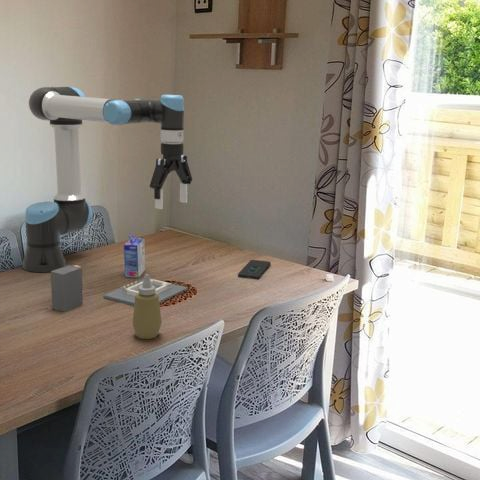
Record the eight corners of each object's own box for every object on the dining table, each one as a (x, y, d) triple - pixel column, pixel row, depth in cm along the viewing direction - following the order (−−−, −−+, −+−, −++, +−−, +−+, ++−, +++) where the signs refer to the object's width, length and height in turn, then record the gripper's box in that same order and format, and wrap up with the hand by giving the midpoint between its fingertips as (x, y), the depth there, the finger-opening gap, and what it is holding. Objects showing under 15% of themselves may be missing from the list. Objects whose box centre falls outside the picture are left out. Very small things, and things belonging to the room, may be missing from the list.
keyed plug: (52, 308, 196) (50, 271, 193) (73, 299, 204) (72, 264, 201) (64, 311, 194) (62, 274, 191) (85, 303, 202) (84, 266, 199)
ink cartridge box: (131, 269, 238) (130, 231, 234) (145, 269, 237) (145, 232, 233) (123, 277, 228) (123, 238, 224) (138, 278, 228) (138, 239, 224)
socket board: (103, 297, 207) (103, 290, 206) (145, 280, 226) (145, 273, 225) (148, 309, 198) (148, 302, 198) (187, 290, 217) (188, 283, 216)
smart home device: (237, 273, 233) (250, 259, 251) (236, 278, 233) (250, 263, 252) (259, 276, 230) (271, 261, 249) (258, 281, 231) (271, 265, 250)
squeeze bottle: (133, 329, 183) (133, 270, 178) (162, 329, 184) (162, 270, 179) (131, 341, 175) (130, 279, 170) (161, 341, 176) (161, 279, 171)
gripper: (157, 146, 199) (156, 213, 205) (203, 140, 220) (201, 201, 225) (138, 144, 203) (138, 209, 209) (185, 138, 224) (184, 198, 229)
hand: (171, 205), depth 217 cm, fingers open, 13 cm apart
